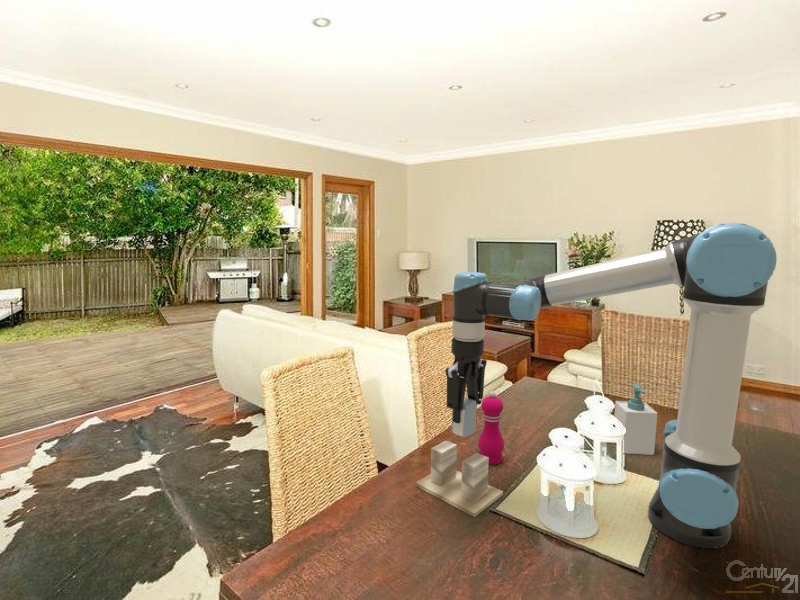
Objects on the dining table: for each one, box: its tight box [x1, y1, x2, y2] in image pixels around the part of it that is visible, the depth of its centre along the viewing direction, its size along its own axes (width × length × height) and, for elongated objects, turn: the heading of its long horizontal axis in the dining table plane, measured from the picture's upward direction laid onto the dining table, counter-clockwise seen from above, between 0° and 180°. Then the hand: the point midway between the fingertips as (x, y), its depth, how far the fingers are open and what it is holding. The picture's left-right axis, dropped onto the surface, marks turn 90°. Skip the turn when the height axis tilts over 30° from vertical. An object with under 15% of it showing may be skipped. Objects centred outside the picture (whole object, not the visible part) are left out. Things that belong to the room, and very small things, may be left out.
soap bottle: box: [614, 383, 658, 456], centre depth 132 cm, size 9×9×19 cm
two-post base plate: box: [415, 440, 504, 518], centre depth 110 cm, size 18×12×10 cm, turn 46°
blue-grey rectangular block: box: [451, 396, 477, 438], centre depth 108 cm, size 4×4×8 cm
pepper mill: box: [477, 390, 505, 465], centre depth 125 cm, size 7×7×20 cm
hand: (464, 431), depth 109 cm, fingers closed on blue-grey rectangular block, 4 cm apart
